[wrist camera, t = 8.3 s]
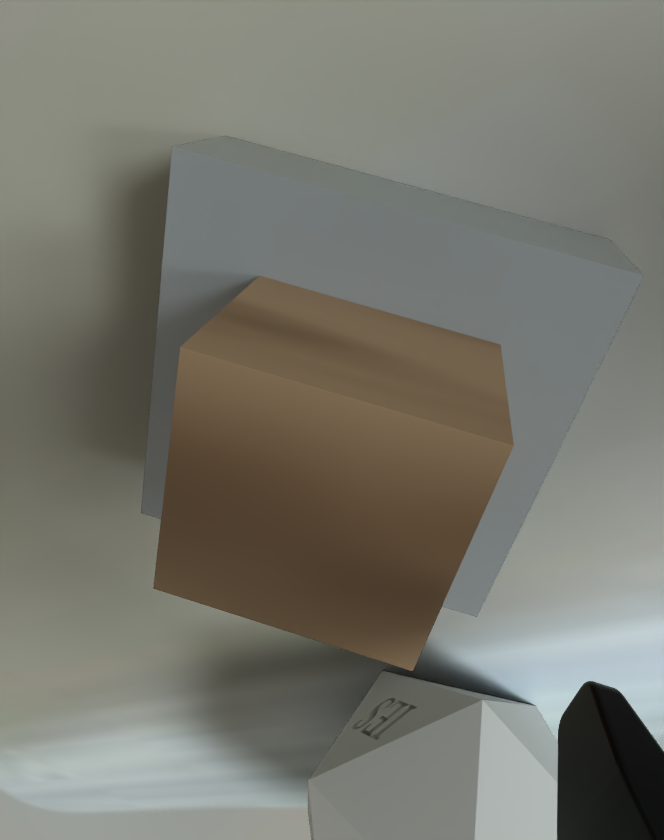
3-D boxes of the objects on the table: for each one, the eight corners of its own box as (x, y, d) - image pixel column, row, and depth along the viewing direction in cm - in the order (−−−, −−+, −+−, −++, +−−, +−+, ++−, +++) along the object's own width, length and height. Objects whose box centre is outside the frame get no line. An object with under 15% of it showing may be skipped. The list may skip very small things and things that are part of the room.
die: (452, 561, 20) (200, 832, 15) (735, 788, 16) (519, 1256, 11) (416, 656, 26) (233, 866, 21) (610, 833, 22) (440, 1139, 17)
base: (610, 239, 14) (644, 275, 11) (475, 541, 18) (476, 616, 16) (225, 135, 14) (171, 145, 12) (186, 454, 19) (141, 512, 16)
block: (425, 534, 15) (412, 671, 11) (226, 472, 15) (154, 588, 12) (500, 344, 12) (513, 446, 9) (259, 275, 12) (180, 346, 9)
